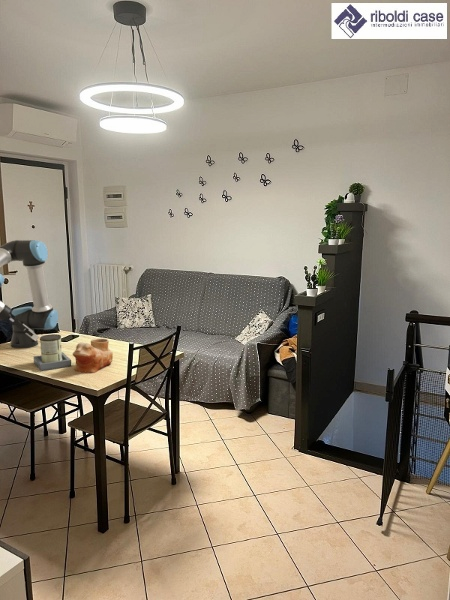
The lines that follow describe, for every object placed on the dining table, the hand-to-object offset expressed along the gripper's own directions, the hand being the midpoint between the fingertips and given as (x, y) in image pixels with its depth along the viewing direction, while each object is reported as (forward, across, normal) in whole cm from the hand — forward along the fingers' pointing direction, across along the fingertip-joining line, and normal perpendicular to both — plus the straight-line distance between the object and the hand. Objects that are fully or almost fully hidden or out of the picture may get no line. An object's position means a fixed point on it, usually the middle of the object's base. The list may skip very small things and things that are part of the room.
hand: (34, 336), depth 226 cm
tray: (+17, 0, -6) cm, 18 cm away
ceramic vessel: (+29, +16, +5) cm, 34 cm away
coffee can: (+17, 0, -6) cm, 18 cm away
